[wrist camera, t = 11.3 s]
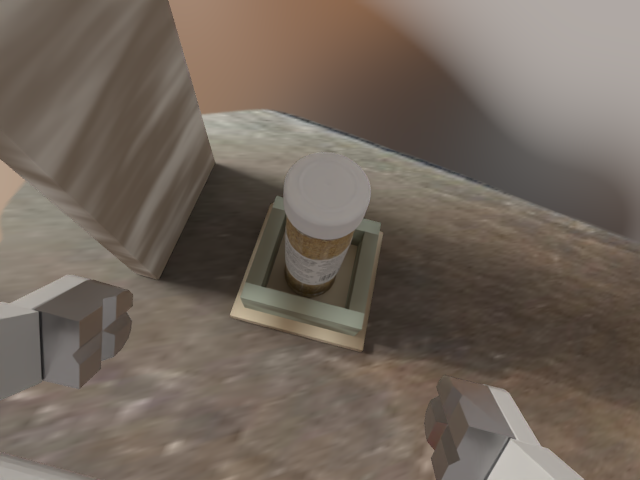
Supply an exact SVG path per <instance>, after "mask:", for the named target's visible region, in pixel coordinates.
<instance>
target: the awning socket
mask: <svg viewBox="0 0 640 480" xmlns="http://www.w3.org/2000/svg"><path fill="white" fill-rule="evenodd" d="M0 159H1V160H2V161H3V162H5V163H6V164H7V165H8V166H9V167H10V168H12V169H13V170H14V171H15V172H16V173H18V174H19V175H20V176H21V177H22V178H23V179H25V180H26V181H27V182H28V183H29V184H31V185H32V186H33V187H34V188H35V189H36V190H38V191H39V192H40V193H41V194H42V195H43V196H45V197H46V198H47V199H48V200H49V201H51V202H52V203H53V204H54V205H55V206H56V207H58V208H59V209H60V210H61V211H62V212H64V213H65V214H66V215H67V216H68V217H69V218H71V219H72V220H73V221H74V222H75V223H77V224H78V225H79V226H80V227H81V228H82V229H84V230H85V231H86V232H87V233H88V234H90V235H91V236H92V237H93V238H94V239H95V240H97V241H98V242H99V243H100V244H101V245H103V246H104V247H105V248H106V249H107V250H108V251H110V252H111V253H112V254H113V255H114V256H116V257H117V258H118V259H119V260H120V261H121V262H123V263H124V264H125V265H126V266H127V267H129V268H130V269H131V270H132V271H133V272H134V273H136V274H138V275H142V276H146V277H150V278H154V279H157V280H159V278H160V276H161V274H162V272H163V270H164V268H165V266H166V263H167V261H168V259H169V257H170V255H171V253H172V251H173V249H174V247H175V245H176V243H177V241H178V239H179V237H180V235H181V233H182V230H183V228H184V226H185V224H186V222H187V220H188V218H189V216H190V214H191V212H192V210H193V208H194V206H195V204H196V202H197V200H198V197H199V195H200V193H201V191H202V189H203V187H204V185H205V183H206V181H207V179H208V177H209V175H210V173H211V171H212V169H213V167H214V164H215V160H214V157H213V154H212V150H211V147H210V143H209V140H208V136H207V133H206V129H205V126H204V122H203V119H202V115H201V112H200V109H199V105H198V102H197V98H196V95H195V91H194V88H193V85H192V81H191V77H190V74H189V71H188V67H187V64H186V60H185V57H184V53H183V50H182V47H181V43H180V40H179V36H178V33H177V29H176V26H175V22H174V19H173V16H172V12H171V8H170V5H169V1H168V0H0ZM286 218H287V216H286V213H285V210H284V204H283V197H280V196H276V199H275V201H274V204H273V203H271V204H270V206H269V209H268V212H267V215H266V217H265V220H264V223H263V226H262V228H261V231H260V234H259V237H258V239H257V242H256V245H255V248H254V250H253V253H252V256H251V259H250V261H249V264H248V267H247V270H246V272H245V275H244V278H243V280H242V283H241V286H240V289H239V291H238V294H237V297H236V300H235V302H234V305H233V308H232V311H231V313H230V316H231V318H234V319H237V320H241V321H245V322H249V323H252V324H256V325H260V326H264V327H268V328H271V329H275V330H279V331H283V332H286V333H290V334H294V335H298V336H301V337H305V338H309V339H313V340H316V341H320V342H324V343H328V344H332V345H335V346H339V347H343V348H347V349H350V350H354V351H358V352H361V351H363V346H364V340H365V335H366V329H367V323H368V317H369V312H370V306H371V300H372V294H373V289H374V283H375V277H376V271H377V266H378V260H379V254H380V248H381V243H382V237H383V232H380V226H381V223H380V222H376V221H372V220H368V219H364V218H363V220H362V222H361V223H360V225H359V226H358V227H357V228H356V229H355V231H354V233H353V237H352V241H351V244H350V246H349V248H348V251H347V253H346V255H345V258H344V260H343V262H342V264H341V267H340V269H339V271H338V273H337V274H336V278H335V282H334V284H333V285H332V287H331V288H330V289H329V290H328V291H326V292H325V293H324V294H321V295H319V296H315V297H307V296H302V295H300V294H297V293H296V292H295V291H293V290H292V289H291V288H290V286H289V285H288V283H287V281H286V279H285V271H284V270H285V264H286V262H285V226H286V222H287V221H286V220H287V219H286Z"/></svg>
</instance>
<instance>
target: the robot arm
mask: <svg viewBox="0 0 640 480" xmlns="http://www.w3.org/2000/svg"><path fill="white" fill-rule="evenodd" d="M132 306H133V294H132V293H131V292H130V291H129V290H127V289H123V288H120V287H116V286H113V285H109V284H106V283H102V282H99V281H96V280H91V279H89V278H85V277H81V276H77V275H66V276H64V277H62V278H60V279H58V280H56V281H54V282H52V283H50V284H48V285H46V286H44V287H42V288H40V289H38V290H36V291H34V292H32V293H30V294H28V295H26V296H24V297H22V298H20V299H18V300H16V301H14V302H12V303H10V304H9V303H5V302H0V400H2V399H5V398H7V397H9V396H12V395H14V394H16V393H18V392H21V391H23V390H25V389H28V388H30V387H32V386H34V385H37V384H39V383H41V382H42V380H43V381H47V382H51V383H56V384H60V385H64V386H68V387H72V388H77V389H80V388H81V387H82V386H83V385H84V384H85V383H86V382H87V381H89V380H90V379H91V378H92V377H93V376H94V375H95V374H96V373H97V372H98V371H99V370H100V369H101V361H103V360H106V359H109V358H112V357H114V356H115V355H116V354H117V353H118V352H119V351H120V350H121V349H122V348H123V346H124V345H125V343H126V341H127V340H128V338H129V335H130V331H131V325H132V320H131V318H130V317H129V315H128V313H127V311H128V310H129V309H130V308H131V307H132ZM437 391H438V394H439V396H437V397H436V398H434V399H432V400H431V401H430V402H429V405H428V407H427V410H426V415H425V422H424V425H425V435H426V439H427V442H428V443H429V444H430V446H431V447H432V448H433V449H434V450H435V451H434V453H433V455H432V457H431V461H432V465H433V469H434V473H435V477H436V480H584V479H583V478H582V477H581V476H580V475H578V474H577V473H576V472H575V471H574V470H573V469H571V468H570V467H569V466H568V465H567V464H566V463H565V462H563V461H562V460H561V459H560V458H559V457H558V456H556V455H555V454H554V453H553V452H552V451H551V450H549V449H548V448H545V447H541V445H540V444H539V442H538V440H537V439H536V437H535V435H534V434H533V432H532V430H531V429H530V427H529V425H528V424H527V422H526V420H525V419H524V417H523V415H522V414H521V412H520V410H519V409H518V407H517V405H516V404H515V402H514V400H513V399H512V397H511V395H510V394H509V393H508V392H507V391H506V390H505V389H502V388H498V387H493V386H489V385H485V384H484V385H483V384H479V383H475V382H471V381H467V380H463V379H459V378H455V377H451V376H447V375H444V376H443V377H442V378H441V379H440V380H439V382H438V385H437ZM0 480H101V479H98V478H94V477H91V476H87V475H83V474H80V473H76V472H72V471H69V470H65V469H62V468H58V467H54V466H51V465H47V464H43V463H40V462H36V461H33V460H29V459H25V458H22V457H18V456H14V455H11V454H7V453H4V452H0Z"/></svg>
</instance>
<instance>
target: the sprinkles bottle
mask: <svg viewBox="0 0 640 480" xmlns="http://www.w3.org/2000/svg"><path fill="white" fill-rule="evenodd" d="M370 198H371V187H370V182H369V179H368V177H367V175H366V174H365V172H364V171H363V169H362V168H361V167H360V166H359V165H358V164H357V163H355V162H354V161H353V160H351V159H350V158H348V157H346V156H343V155H340V154H337V153H331V152H318V153H313V154H309V155H307V156H305V157H303V158H301V159H299V160H298V161H297V162H295V163H294V164H293V165H292V167H291V168H290V169H289V171H288V173H287V175H286V177H285V181H284V192H283V204H284V210H285V213H286V216H287V218H286V219H287V220H286V221H287V222H286V226H285V262H286V264H285V270H284V271H285V279H286V281H287V283H288V285H289V286H290V288H291V289H292V290H293V291H295V292H296V293H297V294H300V295H302V296H307V297H315V296H319V295H321V294H324V293H325V292H326V291H328V290H329V289H330V288H331V287H332V285H333V284H334V282H335V278H336V274H337V273H338V271H339V269H340V267H341V264H342V262H343V260H344V258H345V255H346V253H347V251H348V248H349V246H350V244H351V241H352V237H353V233H354V231H355V229H356V228H357V227H358V226H359V225H360V223H361V222H362V220H363V218H364V215H365V213H366V210H367V208H368V205H369V202H370Z"/></svg>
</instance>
